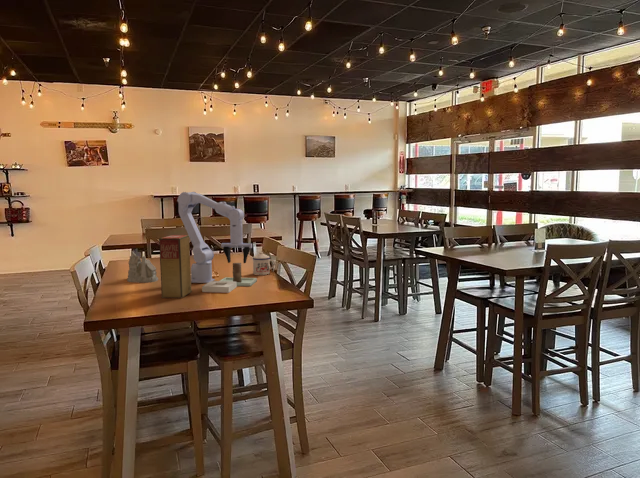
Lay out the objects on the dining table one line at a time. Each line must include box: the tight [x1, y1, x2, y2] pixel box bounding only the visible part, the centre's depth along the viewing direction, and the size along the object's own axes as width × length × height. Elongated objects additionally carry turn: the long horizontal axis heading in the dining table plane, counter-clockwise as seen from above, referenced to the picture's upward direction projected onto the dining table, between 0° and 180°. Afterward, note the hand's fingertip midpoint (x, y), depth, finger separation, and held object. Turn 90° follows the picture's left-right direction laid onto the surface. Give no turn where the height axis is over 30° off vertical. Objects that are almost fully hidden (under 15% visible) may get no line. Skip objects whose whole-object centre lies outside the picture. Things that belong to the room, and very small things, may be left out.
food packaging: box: [158, 234, 192, 299], centre depth 200 cm, size 13×9×25 cm
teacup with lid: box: [252, 251, 276, 276], centre depth 249 cm, size 12×9×12 cm
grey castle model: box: [127, 250, 159, 284], centre depth 234 cm, size 16×16×15 cm
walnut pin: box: [232, 262, 242, 283], centre depth 224 cm, size 4×4×9 cm
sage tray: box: [219, 276, 258, 287], centre depth 225 cm, size 16×12×2 cm
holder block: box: [201, 280, 238, 294], centre depth 212 cm, size 12×12×2 cm
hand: (237, 262), depth 224 cm, fingers open, 7 cm apart
